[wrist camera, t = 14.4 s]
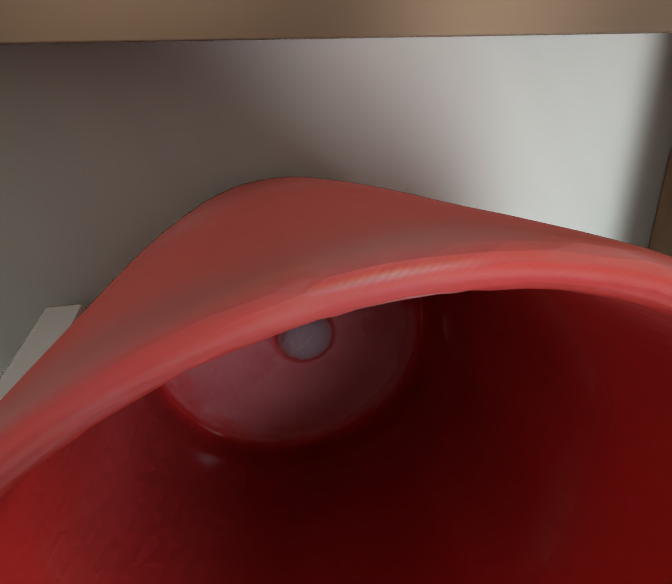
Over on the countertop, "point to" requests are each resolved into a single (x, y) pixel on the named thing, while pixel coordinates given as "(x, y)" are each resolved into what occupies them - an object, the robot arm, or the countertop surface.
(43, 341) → the robot arm
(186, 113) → the countertop surface
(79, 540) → the flower pot
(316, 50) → the countertop surface
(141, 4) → the wooden tray
